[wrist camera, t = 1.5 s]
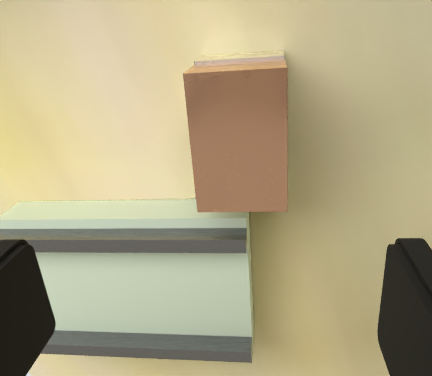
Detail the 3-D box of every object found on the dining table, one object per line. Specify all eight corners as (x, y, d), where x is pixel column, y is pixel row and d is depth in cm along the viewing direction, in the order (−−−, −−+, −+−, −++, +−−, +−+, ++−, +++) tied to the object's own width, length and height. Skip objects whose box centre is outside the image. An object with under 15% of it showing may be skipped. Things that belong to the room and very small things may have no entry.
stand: (248, 198, 29) (245, 229, 24) (254, 325, 33) (252, 369, 29) (19, 201, 31) (-19, 230, 27) (55, 320, 36) (28, 359, 32)
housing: (282, 50, 24) (287, 63, 18) (283, 170, 27) (287, 214, 22) (202, 55, 25) (182, 69, 19) (212, 172, 28) (197, 215, 22)
